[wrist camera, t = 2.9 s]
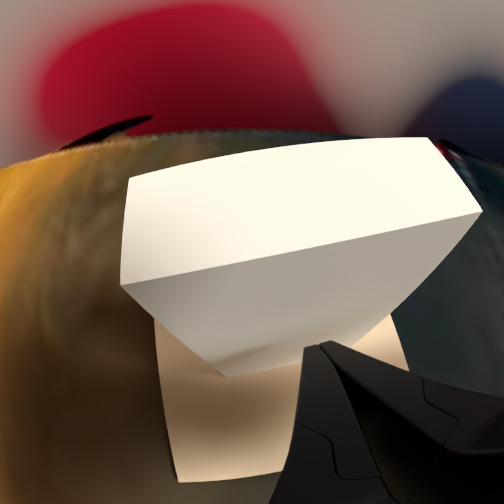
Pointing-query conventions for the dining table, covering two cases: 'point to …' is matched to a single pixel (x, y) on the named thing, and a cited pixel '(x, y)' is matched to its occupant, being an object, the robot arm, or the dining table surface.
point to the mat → (238, 408)
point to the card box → (289, 244)
